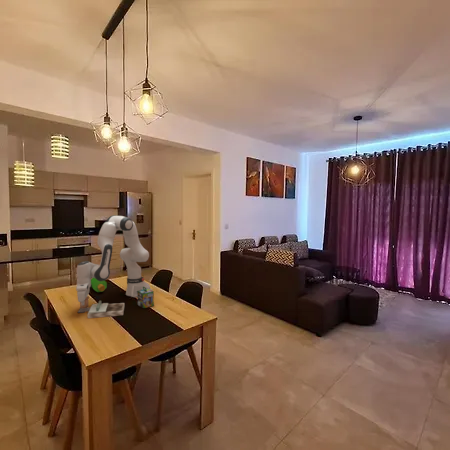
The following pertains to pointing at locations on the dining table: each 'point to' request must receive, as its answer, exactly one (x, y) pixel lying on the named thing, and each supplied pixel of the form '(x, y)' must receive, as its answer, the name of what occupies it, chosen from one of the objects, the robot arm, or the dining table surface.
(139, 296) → the chalk box
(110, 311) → the sliding lid box
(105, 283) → the decorative tree
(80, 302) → the terracotta knob
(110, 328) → the dining table surface
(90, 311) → the sliding lid panel
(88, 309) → the slate tile
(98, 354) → the dining table surface
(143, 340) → the dining table surface
